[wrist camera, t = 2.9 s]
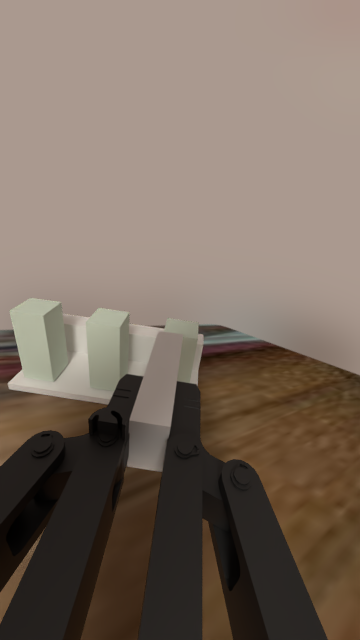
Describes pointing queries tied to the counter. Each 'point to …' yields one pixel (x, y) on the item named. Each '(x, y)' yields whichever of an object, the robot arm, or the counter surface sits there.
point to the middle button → (107, 347)
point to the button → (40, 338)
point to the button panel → (76, 373)
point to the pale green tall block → (184, 345)
